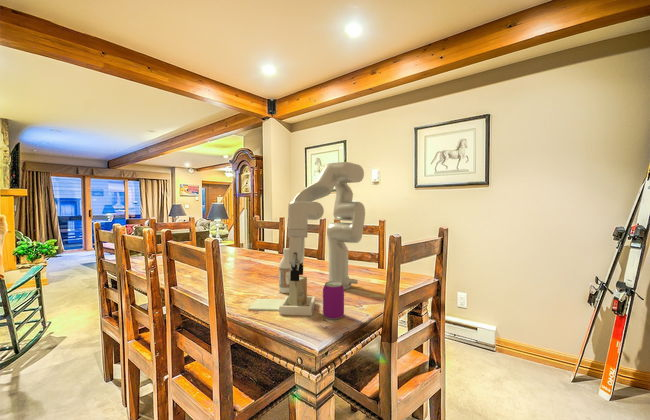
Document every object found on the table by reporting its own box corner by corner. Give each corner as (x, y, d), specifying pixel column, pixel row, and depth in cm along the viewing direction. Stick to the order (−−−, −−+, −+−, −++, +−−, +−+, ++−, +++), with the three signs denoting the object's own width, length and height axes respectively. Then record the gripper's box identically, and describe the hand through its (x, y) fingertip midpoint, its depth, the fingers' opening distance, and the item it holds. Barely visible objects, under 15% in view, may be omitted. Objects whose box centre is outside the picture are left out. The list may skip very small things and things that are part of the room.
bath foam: (283, 294, 125) (282, 250, 124) (276, 290, 131) (276, 248, 130) (296, 291, 129) (296, 249, 128) (290, 288, 134) (289, 247, 134)
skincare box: (297, 312, 104) (297, 280, 104) (288, 310, 107) (288, 278, 106) (307, 307, 110) (307, 276, 109) (298, 305, 112) (298, 275, 112)
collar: (315, 303, 114) (315, 296, 114) (311, 315, 102) (311, 307, 102) (286, 302, 114) (286, 295, 114) (279, 314, 103) (279, 306, 102)
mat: (285, 300, 117) (285, 299, 117) (279, 310, 106) (278, 309, 106) (257, 299, 118) (257, 298, 118) (248, 309, 107) (248, 308, 107)
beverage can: (319, 318, 99) (319, 285, 99) (327, 310, 106) (327, 279, 106) (340, 321, 96) (340, 287, 96) (346, 313, 103) (346, 281, 103)
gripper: (292, 231, 116) (291, 272, 116) (283, 235, 99) (282, 283, 99) (310, 231, 116) (309, 272, 116) (304, 235, 98) (303, 284, 98)
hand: (297, 277), depth 107 cm, fingers open, 9 cm apart
